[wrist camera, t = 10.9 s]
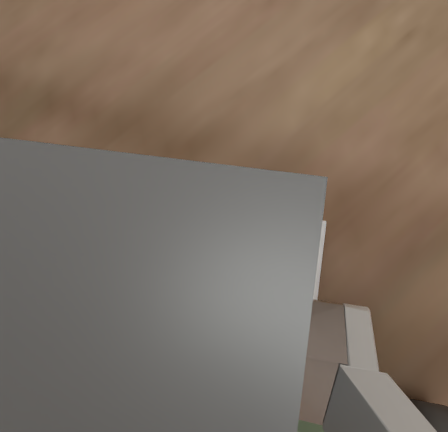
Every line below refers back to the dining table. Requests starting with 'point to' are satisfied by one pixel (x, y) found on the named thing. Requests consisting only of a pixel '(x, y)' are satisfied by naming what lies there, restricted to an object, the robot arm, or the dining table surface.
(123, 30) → the dining table surface
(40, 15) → the dining table surface
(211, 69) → the dining table surface
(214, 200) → the grey upright pillar
